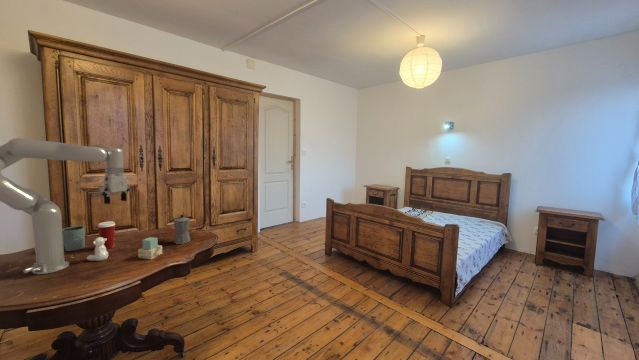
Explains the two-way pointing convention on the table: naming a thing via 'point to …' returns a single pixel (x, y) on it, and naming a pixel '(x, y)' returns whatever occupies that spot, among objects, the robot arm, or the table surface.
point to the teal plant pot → (74, 238)
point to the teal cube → (150, 243)
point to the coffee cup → (107, 233)
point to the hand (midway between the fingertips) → (115, 202)
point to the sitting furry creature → (99, 250)
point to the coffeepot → (182, 230)
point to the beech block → (149, 252)
